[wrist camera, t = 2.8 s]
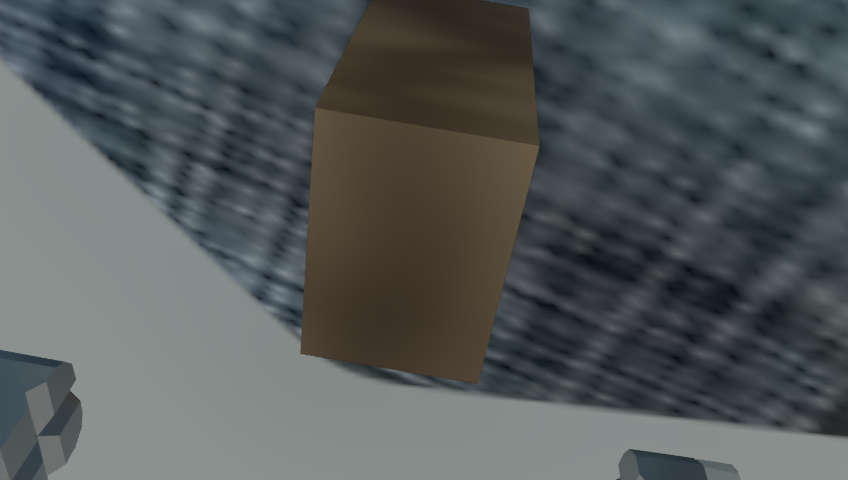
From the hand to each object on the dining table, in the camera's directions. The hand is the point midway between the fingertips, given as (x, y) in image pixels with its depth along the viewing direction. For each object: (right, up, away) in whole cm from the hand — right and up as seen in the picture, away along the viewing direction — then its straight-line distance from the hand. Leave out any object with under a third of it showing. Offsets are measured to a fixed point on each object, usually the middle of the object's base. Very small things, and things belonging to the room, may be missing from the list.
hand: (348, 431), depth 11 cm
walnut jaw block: (+2, +7, +10) cm, 13 cm away
